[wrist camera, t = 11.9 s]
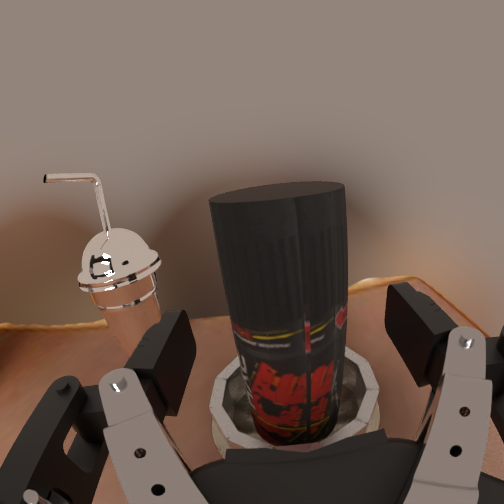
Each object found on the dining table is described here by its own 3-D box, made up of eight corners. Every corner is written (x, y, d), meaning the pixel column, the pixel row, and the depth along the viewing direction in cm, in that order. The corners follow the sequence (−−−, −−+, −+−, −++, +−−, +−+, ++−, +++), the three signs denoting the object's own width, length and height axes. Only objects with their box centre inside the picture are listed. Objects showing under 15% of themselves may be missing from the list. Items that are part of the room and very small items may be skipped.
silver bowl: (203, 489, 12) (183, 466, 11) (224, 372, 23) (215, 340, 22) (396, 470, 11) (413, 442, 10) (357, 357, 22) (360, 323, 21)
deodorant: (237, 415, 17) (186, 201, 13) (297, 376, 20) (280, 181, 16) (293, 464, 13) (268, 206, 8) (355, 410, 16) (369, 182, 11)
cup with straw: (201, 358, 26) (150, 145, 19) (120, 395, 21) (39, 172, 14) (169, 325, 32) (128, 159, 26) (104, 352, 27) (48, 181, 21)
